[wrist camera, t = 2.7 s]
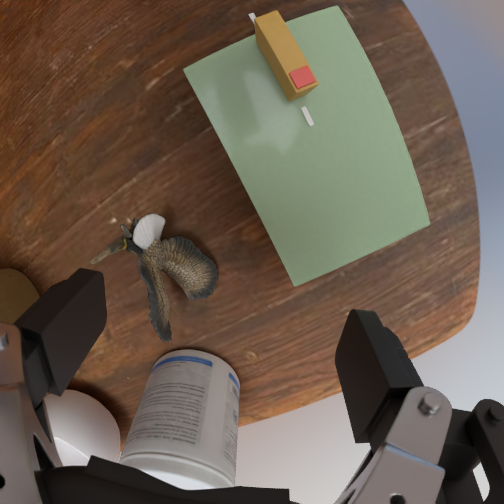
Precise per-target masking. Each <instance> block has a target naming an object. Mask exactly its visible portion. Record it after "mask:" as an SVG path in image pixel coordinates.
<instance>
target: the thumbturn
mask: <svg viewBox="0 0 504 504" xmlns="http://www.w3.org/2000/svg"><path fill="white" fill-rule="evenodd" d="M254 22H255V37H256V42H257V44H258V46H259V48H260V49H261V51H262V53H263V55H264V56H265V58H266V60H267V62H268V64H269V65H270V67H271V69H272V71H273V73H274V74H275V76H276V78H277V80H278V82H279V84H280V86H281V88H282V89H283V91H284V93H285V95H286V97H287V99H288V101H289V102H290V101H292V100H295V99H297V98H300V97H302V96H304V95H307V94H308V93H309V92H310V91H312V90H313V89H314V88H315V87H316V86H318V85H319V83H318V81H317V79H316V77H315V75H314V73H313V71H312V69H311V68H310V66H309V64H308V62H307V60H306V58H305V57H304V55H303V53H302V51H301V49H300V48H299V46H298V44H297V42H296V41H295V39H294V37H293V35H292V34H291V32H290V30H289V29H288V27H287V25H286V24H285V22H284V20H283V19H282V17H281V16H280V14H279V12H278V11H277V10H275V11H273V12H270V13H268V14H265V15H262V16H260V17H257V18H255V19H254Z"/></svg>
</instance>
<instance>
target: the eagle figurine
mask: <svg viewBox="0 0 504 504" xmlns="http://www.w3.org/2000/svg"><path fill="white" fill-rule="evenodd" d="M164 224H165V219H164V218H163V217H162V216H159V215H157V214H155V213H152V214H149V215H146V216H144V217H143V218H141V219H140V220H139V222H138V224H137V218H134V220H133V224H132V225H131V228H130V230H128V229H127V227H126V226H125V225H124V224H122V225H121V228H122V230H123V232H124V234H123V235H122V236H121V237H119V238H118V239H117V240H115V241H114V242H112V243H111V244H110V245H108V246H107V247H106V248H105V249H104V250H103V251H102V252H101V253H100V254H98V255H97V256H96V257H94V258H93V259H92V260H91V261H90V264H95V263H97V262H100V261H101V260H102V259H104V258H105V257H106V256H108V255H110V254H114V253H115V252H116V251H120V250H124V249H125V250H127V251H128V252H131V253H134V254H135V255H136V256H137V257H138V258H139V260H138V264H139V265H138V267H139V273H140V276H141V279H142V280H144V281H145V284H146V285H147V290H148V292H149V293H148V298H149V302H150V306H149V308H150V310H151V312H150V319H151V323H152V325H154V329H156V332H157V333H158V335H159V337H160V339H161V340H162V341H164V342H166V341H167V342H169V341H171V340H172V339H171V331H170V328H171V327H170V324H169V321H168V317H169V300H168V296H167V292H166V288H165V285H164V283H163V280H162V277H161V274H160V271H162V272H164V273H166V274H167V275H169V276H170V277H172V278H173V279H174V280H175V281H176V282H177V284H178V285H180V286H181V287H182V289H183V290H184V292H185V293H186V295H187V297H188V298H189V299H191V300H192V299H194V298H195V299H198V300H199V299H200V298H201V297H202V298H207V297H208V295H210V296H211V295H212V294H213V290H215V289H216V284H215V282H216V281H218V278H217V276H218V270H217V268H216V265H215V264H214V263H213V261H212V260H210V259H209V258H208V257H207V256H206V255H205V254H202V252H201V251H199V249H198V248H195V245H194V244H193V243H192V241H191V240H188V239H187V238H183V237H182V236H175V237H174V238H169V239H168V240H166V239H163V240H160V237H161V233H162V229H163V227H164ZM131 240H133V241H131Z"/></svg>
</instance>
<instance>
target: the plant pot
mask: <svg viewBox="0 0 504 504" xmlns="http://www.w3.org/2000/svg"><path fill="white" fill-rule="evenodd" d="M39 298H40V297H39V294H38V292H37V290H36V289H35V287H34V285H33V284H32V283H31V281H30V280H29V279H28V278H27V277H26V276H25V275H24V274H23V273H21V272H20V271H18V270H15V269H12V268H7V269H0V323H10V324H13V323H14V322H15V321H16V320H17V319H18V318H19V317H20V316H21V315H22V314H23V313H24V312H25V311H26V310H27V309H28V308H29V307H30V306H31V305H32V304H33V303H34V302H37V300H38V299H39Z"/></svg>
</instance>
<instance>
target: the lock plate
mask: <svg viewBox="0 0 504 504" xmlns="http://www.w3.org/2000/svg"><path fill="white" fill-rule="evenodd" d="M249 17H250V18H251V20H252V22H253V23H254V25H255V22H254V19H255V18H256V16H255V15H254V13H251V14H249ZM285 24H286V25H287V27H288V29H289V30H290V32H291V34H292V35H293V37H294V39H295V41H296V42H297V44H298V46H299V48H300V49H301V51H302V53H303V55H304V57H305V58H306V60H307V62H308V64H309V66H310V68H311V69H312V71H313V73H314V75H315V77H316V79H317V81H318V83H319V85H318V86H316V87H315V88H314V89H313V90H312V91H310V92H309V93H308V94H307V95H304V96H302V97H300V98H297V99H295V100H292V101H290V102H289V101H288V99H287V97H286V95H285V93H284V91H283V89H282V88H281V86H280V84H279V82H278V80H277V78H276V76H275V74H274V73H273V71H272V69H271V67H270V65H269V64H268V62H267V60H266V58H265V56H264V55H263V53H262V51H261V49H260V48H259V46H258V44H257V42H256V37H255V34H254V35H252V36H250V37H247V38H245V39H243V40H241V41H238V42H236V43H234V44H232V45H230V46H228V47H225V48H223V49H221V50H219V51H217V52H215V53H213V54H211V55H209V56H207V57H205V58H203V59H201V60H199V61H197V62H196V63H194V64H192V65H190V66H188V67H186V68H184V69H183V71H184V73H185V75H186V77H187V79H188V81H189V82H190V84H191V86H192V88H193V90H194V92H195V94H196V95H197V97H198V99H199V101H200V103H201V105H202V107H203V109H204V110H205V112H206V114H207V116H208V118H209V120H210V122H211V124H212V126H213V127H214V129H215V131H216V133H217V135H218V137H219V139H220V141H221V143H222V145H223V146H224V148H225V150H226V152H227V154H228V156H229V158H230V160H231V162H232V164H233V166H234V168H235V170H236V172H237V173H238V175H239V177H240V179H241V181H242V183H243V185H244V187H245V189H246V191H247V193H248V195H249V197H250V199H251V201H252V203H253V205H254V207H255V209H256V211H257V213H258V215H259V217H260V219H261V221H262V222H263V224H264V226H265V228H266V230H267V232H268V234H269V236H270V238H271V240H272V242H273V244H274V246H275V248H276V250H277V252H278V254H279V256H280V258H281V261H282V263H283V265H284V267H285V269H286V271H287V273H288V275H289V277H290V279H291V281H292V283H293V285H294V287H296V286H298V285H301V284H303V283H305V282H308V281H310V280H312V279H314V278H317V277H319V276H321V275H324V274H326V273H328V272H330V271H333V270H335V269H337V268H339V267H341V266H344V265H346V264H348V263H350V262H352V261H355V260H357V259H359V258H361V257H363V256H365V255H368V254H370V253H372V252H374V251H376V250H378V249H380V248H383V247H385V246H387V245H389V244H391V243H393V242H395V241H397V240H399V239H401V238H403V237H406V236H408V235H410V234H412V233H414V232H416V231H418V230H420V229H422V228H424V227H426V226H428V225H430V220H429V216H428V212H427V209H426V205H425V202H424V198H423V195H422V192H421V188H420V185H419V182H418V179H417V176H416V173H415V170H414V167H413V164H412V161H411V158H410V155H409V152H408V150H407V147H406V144H405V141H404V139H403V136H402V134H401V131H400V128H399V126H398V123H397V121H396V118H395V116H394V114H393V111H392V109H391V107H390V104H389V102H388V100H387V97H386V95H385V93H384V91H383V89H382V86H381V84H380V82H379V80H378V78H377V76H376V74H375V72H374V70H373V68H372V66H371V64H370V62H369V60H368V58H367V56H366V54H365V52H364V50H363V48H362V46H361V45H360V43H359V41H358V39H357V37H356V36H355V34H354V32H353V30H352V28H351V27H350V25H349V23H348V22H347V20H346V18H345V17H344V15H343V13H342V12H341V10H340V8H339V7H338V5H337V6H333V7H330V8H326V9H323V10H320V11H317V12H314V13H311V14H307V15H304V16H302V17H299V18H296V19H293V20H290V21H287V22H285Z"/></svg>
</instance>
